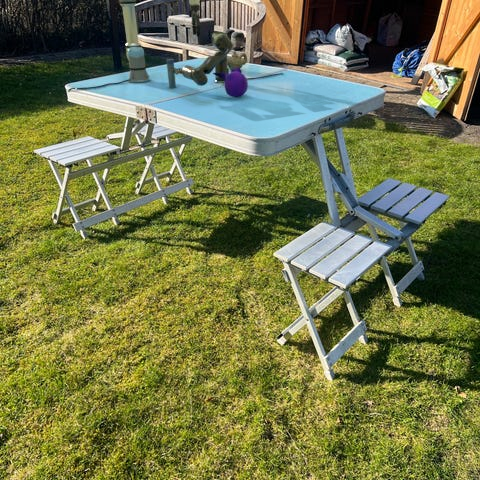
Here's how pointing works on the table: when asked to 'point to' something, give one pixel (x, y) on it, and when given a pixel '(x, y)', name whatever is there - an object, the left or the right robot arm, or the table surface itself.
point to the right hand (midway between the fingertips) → (180, 69)
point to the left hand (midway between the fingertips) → (196, 35)
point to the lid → (170, 61)
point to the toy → (234, 82)
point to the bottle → (171, 75)
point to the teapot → (236, 60)
